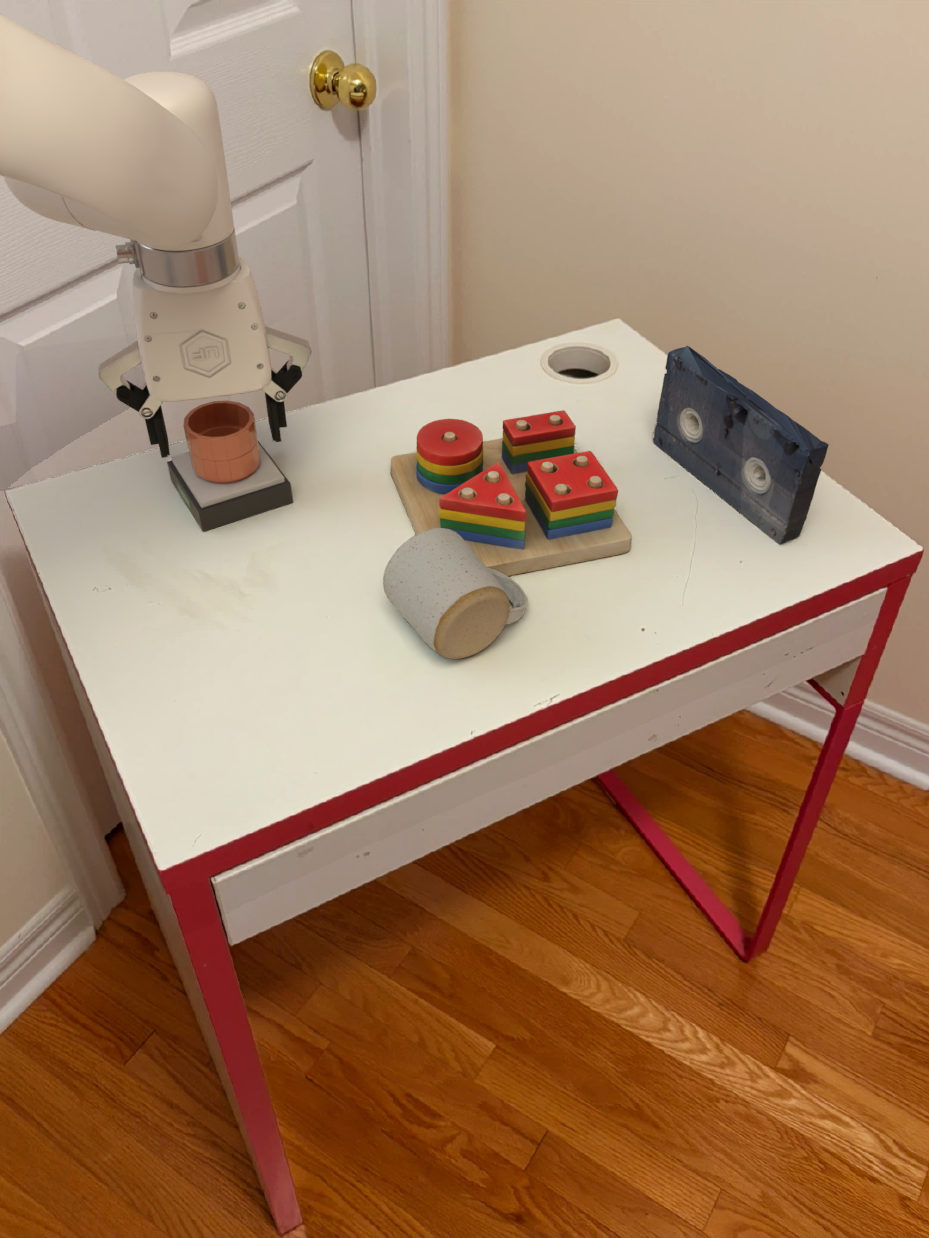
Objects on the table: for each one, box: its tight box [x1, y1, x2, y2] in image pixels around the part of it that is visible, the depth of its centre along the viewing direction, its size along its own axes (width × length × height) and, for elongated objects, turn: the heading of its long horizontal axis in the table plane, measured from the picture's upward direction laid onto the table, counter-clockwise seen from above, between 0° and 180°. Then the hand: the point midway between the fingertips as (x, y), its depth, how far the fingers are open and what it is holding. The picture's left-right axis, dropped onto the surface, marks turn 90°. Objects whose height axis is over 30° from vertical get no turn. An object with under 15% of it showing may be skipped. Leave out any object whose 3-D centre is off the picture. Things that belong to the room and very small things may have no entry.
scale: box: [166, 440, 294, 533], centre depth 95 cm, size 9×9×3 cm
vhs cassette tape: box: [652, 345, 830, 545], centre depth 94 cm, size 18×3×10 cm, turn 29°
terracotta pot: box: [182, 400, 260, 484], centre depth 93 cm, size 6×6×5 cm
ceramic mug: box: [382, 528, 528, 660], centre depth 82 cm, size 11×8×8 cm
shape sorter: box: [390, 409, 633, 577], centre depth 93 cm, size 18×17×6 cm
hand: (220, 441), depth 92 cm, fingers open, 9 cm apart
